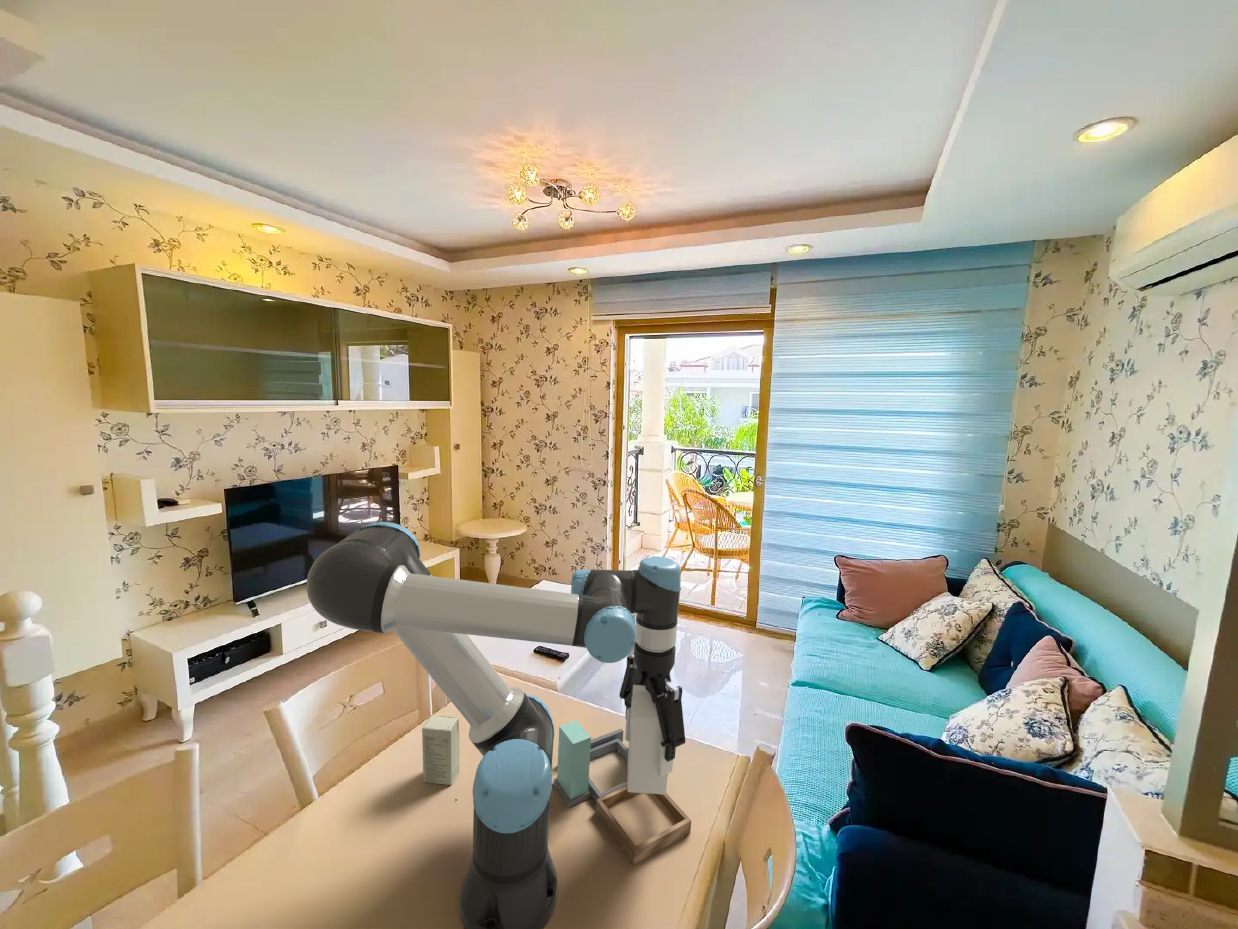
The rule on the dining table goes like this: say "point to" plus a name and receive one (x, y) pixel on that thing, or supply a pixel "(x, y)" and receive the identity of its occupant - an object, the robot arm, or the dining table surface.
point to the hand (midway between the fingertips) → (647, 754)
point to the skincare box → (440, 750)
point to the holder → (583, 761)
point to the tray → (642, 821)
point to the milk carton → (644, 745)
